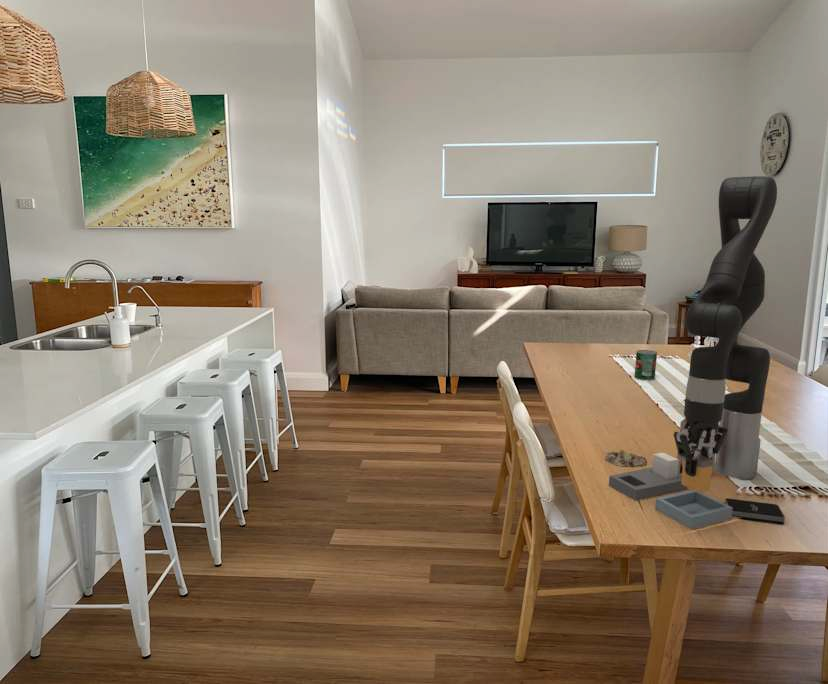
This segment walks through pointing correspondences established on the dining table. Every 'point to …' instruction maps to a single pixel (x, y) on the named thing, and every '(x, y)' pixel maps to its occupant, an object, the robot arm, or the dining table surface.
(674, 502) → the parts tray
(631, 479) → the fuse holder
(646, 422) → the dining table surface
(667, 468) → the block
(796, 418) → the dining table surface
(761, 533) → the dining table surface
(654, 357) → the canned tomato
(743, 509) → the external hard drive
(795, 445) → the dining table surface
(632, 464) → the mineral rock
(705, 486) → the block
